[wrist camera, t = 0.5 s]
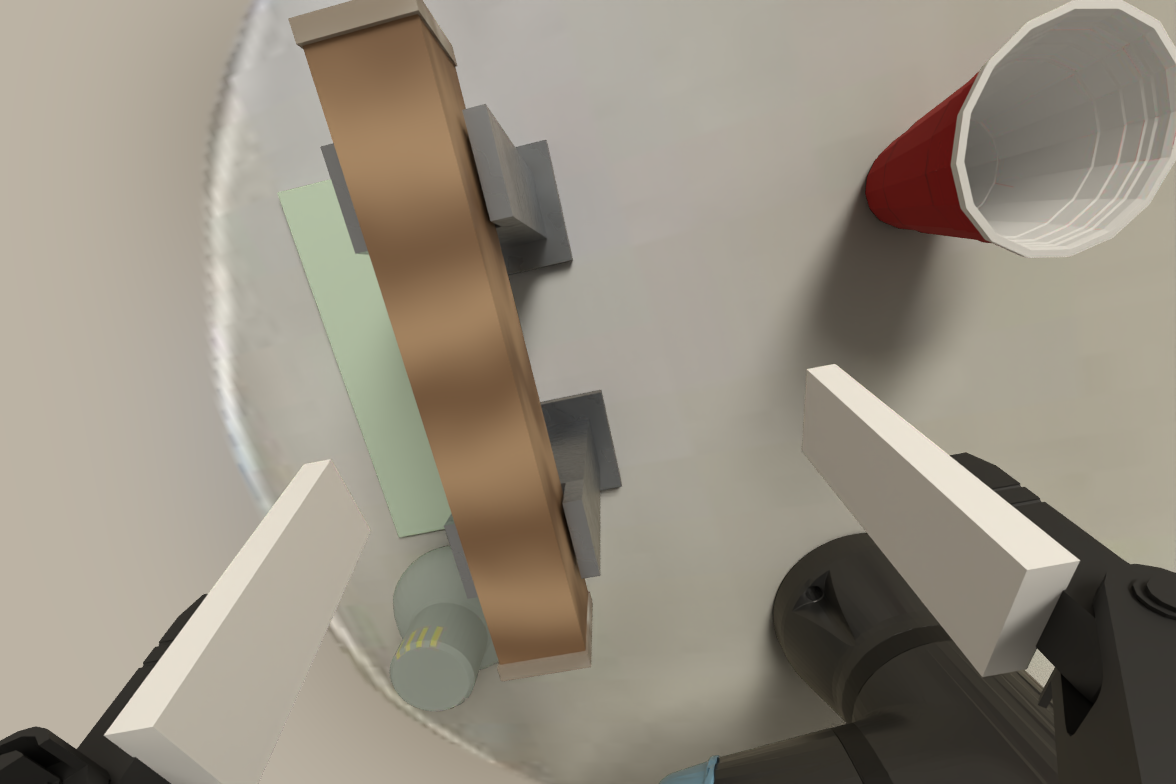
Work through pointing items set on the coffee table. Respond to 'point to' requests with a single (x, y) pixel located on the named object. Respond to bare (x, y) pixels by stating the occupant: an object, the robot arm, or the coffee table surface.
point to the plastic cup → (1042, 137)
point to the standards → (528, 241)
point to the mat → (367, 358)
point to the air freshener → (438, 635)
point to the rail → (453, 318)
